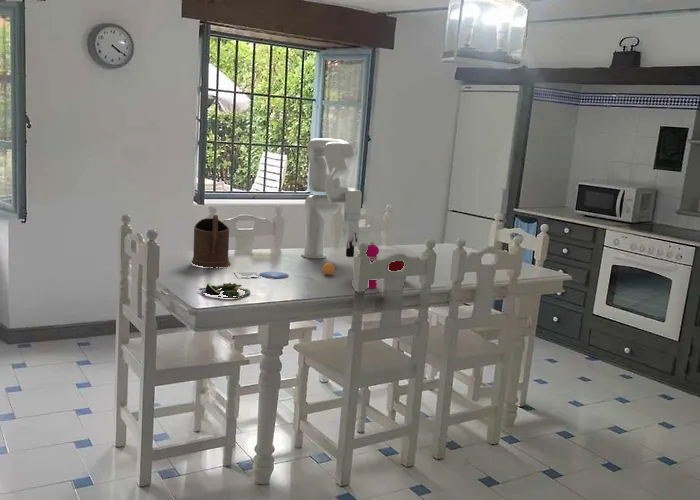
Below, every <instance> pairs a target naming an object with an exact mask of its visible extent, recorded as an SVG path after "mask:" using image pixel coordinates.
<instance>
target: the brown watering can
mask: <svg viewBox="0 0 700 500" xmlns="http://www.w3.org/2000/svg"><path fill="white" fill-rule="evenodd" d="M229 237H230V227H229V226H228V225H227V224H225V223H224V222H222V221H221V220H220V219H219V215H218V214H213V217H210V218H209V217H208V218H202V219H200V220H199V221H197V222H196V223H195V225H194V227H193V257H192V260H191V262H192V263H193V264H195V265H198V266H203V267H213V268H216V267H218V268H219V267H226V268H229V267H231V266H232V264H231V262H230V260H229V246H230V245H229V242H230V241H229V240H230V238H229ZM230 265H231V266H230ZM228 266H229V267H228Z"/></svg>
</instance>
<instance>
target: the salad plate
mask: <svg viewBox="0 0 700 500" xmlns="http://www.w3.org/2000/svg"><path fill="white" fill-rule="evenodd" d="M241 287H242V284H236V283H235V282H233V283H231V282H229V283H223V284H222V285H213V284H211V283H207V284H206V287H202V288H198V291H201V290H202V291H201V293H202V292H203V293H207V294H210V295H219V294H220V292H221V291H224V292H223V293H222V294H223V295H226V296H228V297H223V298H238V297H242V296H244V297H246V296H248V295H250V294H251V290H250V289H248V288H241ZM220 288H222V289H221V290H218V289H220ZM238 289H240V290H243V291H245V294H244V295H243V294H241V295H240V293H239V292H237V290H238ZM203 293H202V294H203ZM247 294H248V295H247ZM245 295H246V296H245ZM233 296H236V297H233ZM218 297H221V296H218ZM242 298H243V297H242Z"/></svg>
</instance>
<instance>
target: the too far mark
mask: <svg viewBox="0 0 700 500" xmlns="http://www.w3.org/2000/svg"><path fill="white" fill-rule="evenodd" d="M238 273H239V274H241V275H242V276H247V277H248V276H251V275H253V274H254V275H256V276H258V277H257V278H256V279H260V278H261V276H260V275H259V274H258V273H257V271H256V272H255V271H254V272H253V271H252V272H247V271H246V272H245V271H244V272H241V271H240V272H238ZM259 277H260V278H259Z"/></svg>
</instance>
